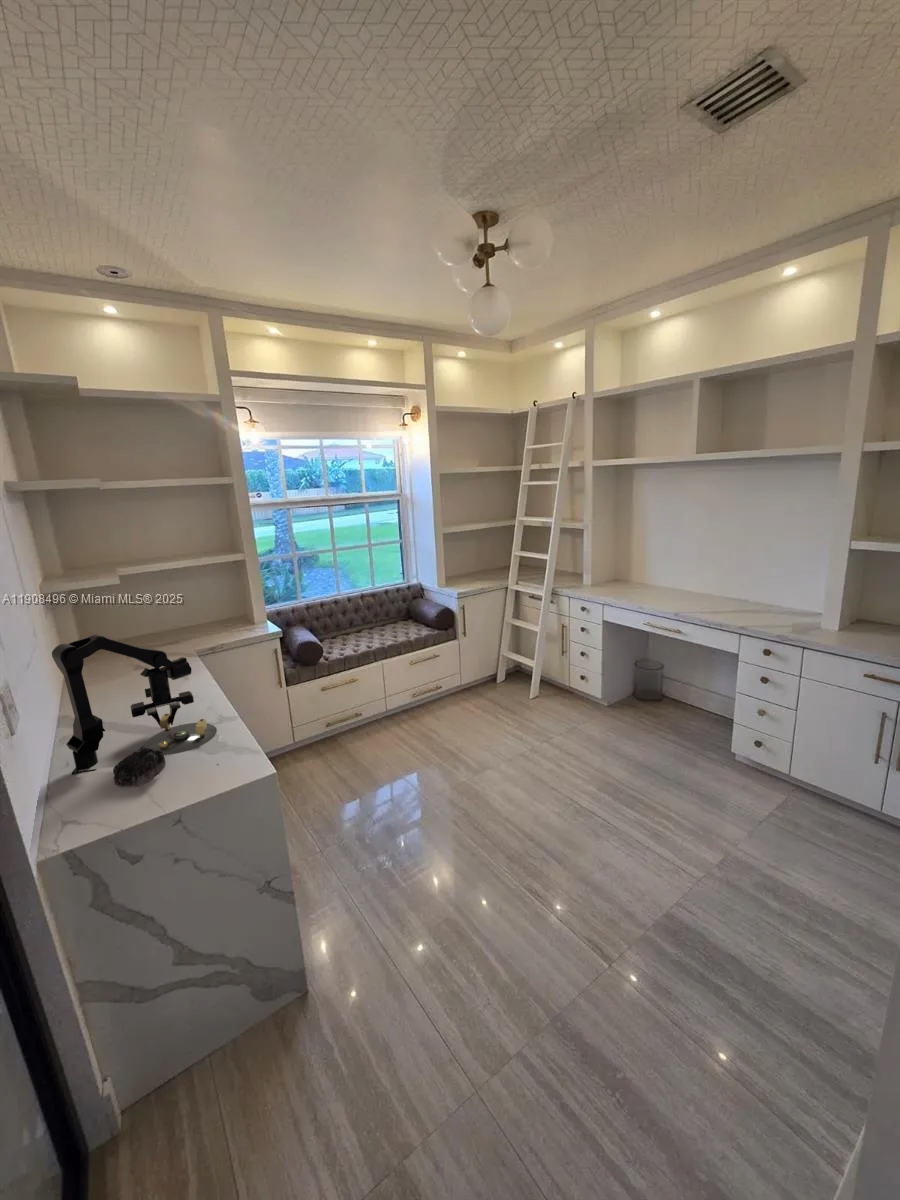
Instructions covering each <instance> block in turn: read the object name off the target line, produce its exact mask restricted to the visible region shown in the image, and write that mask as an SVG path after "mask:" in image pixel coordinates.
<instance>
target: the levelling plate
mask: <svg viewBox="0 0 900 1200" xmlns="http://www.w3.org/2000/svg"><path fill="white" fill-rule="evenodd" d="M197 723H198V722H192V723H191V722H190V723H185V724H180V725H175V726H172V727H170V731H167V732H166V731H165V729H164V730H162V731H160V732H158V733H156V734H154V735H153V736H151V737H150V738H149V739H148V740H147V741H146V742H145V744H144V747H146V748H150V749H153V750H156V751H157V750H160V751H162V752H163V754H164V756H167V755H168V756H169V755H174V754H180V753H185V752H188V751H192V750H194V749H196V748H199V747H201V746H203V745H205V744H207V743H209V742H210V741H211V740H213V738H214V737H215V736H216V735H217V732H218V729H217V727H216V726H215V725H214V724H212V723H207V722H206V724H207V727H206V730H205V737H202V738H201V737H200V734H199V735H197V734H196V728H195V727H196V725H197Z"/></svg>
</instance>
